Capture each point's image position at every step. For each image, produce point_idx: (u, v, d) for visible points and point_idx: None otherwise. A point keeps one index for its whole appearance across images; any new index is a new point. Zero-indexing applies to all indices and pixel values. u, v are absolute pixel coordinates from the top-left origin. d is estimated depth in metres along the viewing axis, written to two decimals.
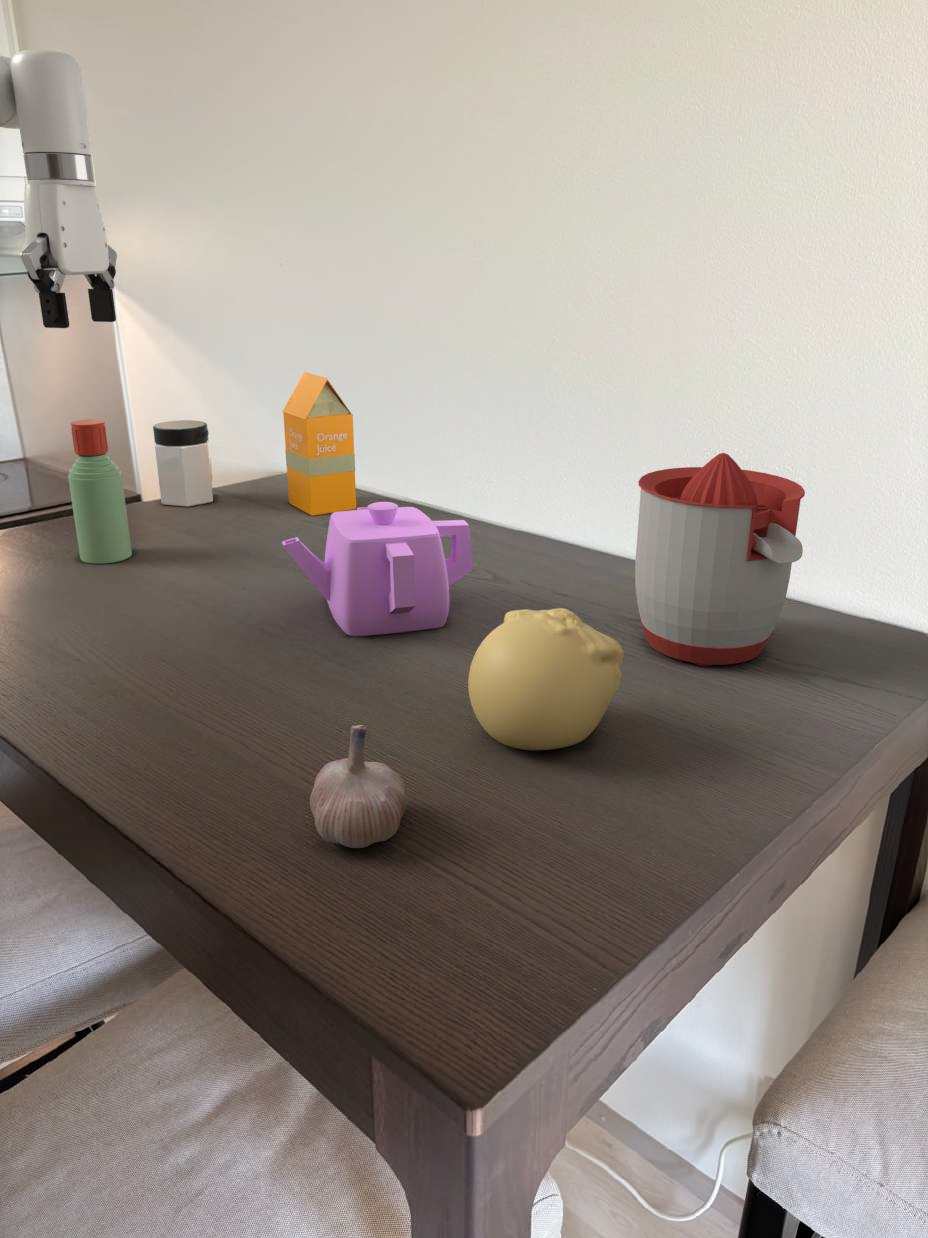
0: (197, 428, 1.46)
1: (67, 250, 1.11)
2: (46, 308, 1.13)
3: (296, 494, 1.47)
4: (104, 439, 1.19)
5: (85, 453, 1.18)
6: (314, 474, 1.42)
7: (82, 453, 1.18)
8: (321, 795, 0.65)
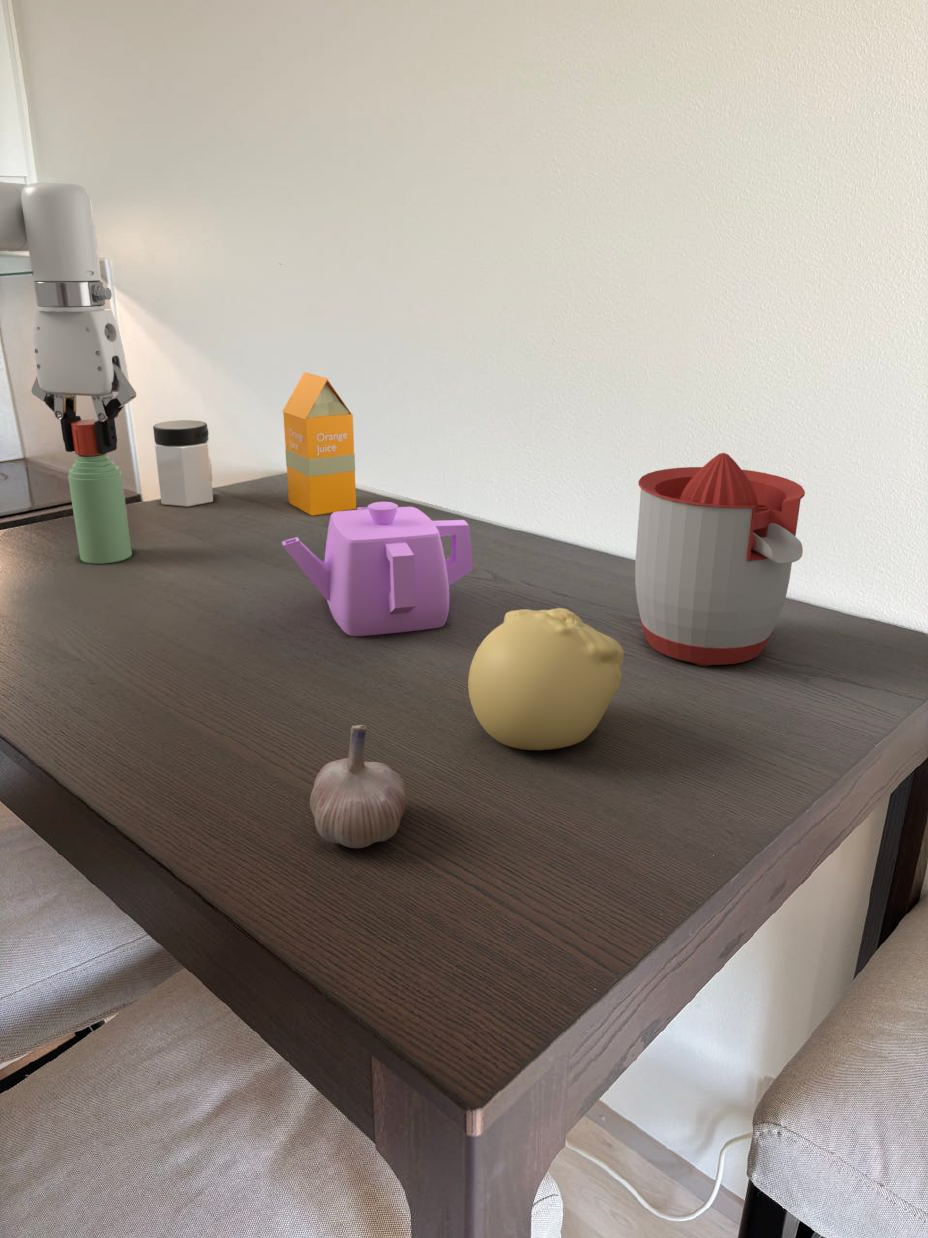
0: (197, 428, 1.46)
1: (41, 371, 1.15)
2: None
3: (296, 494, 1.47)
4: None
5: (85, 453, 1.18)
6: (314, 474, 1.42)
7: (82, 453, 1.18)
8: (321, 795, 0.65)
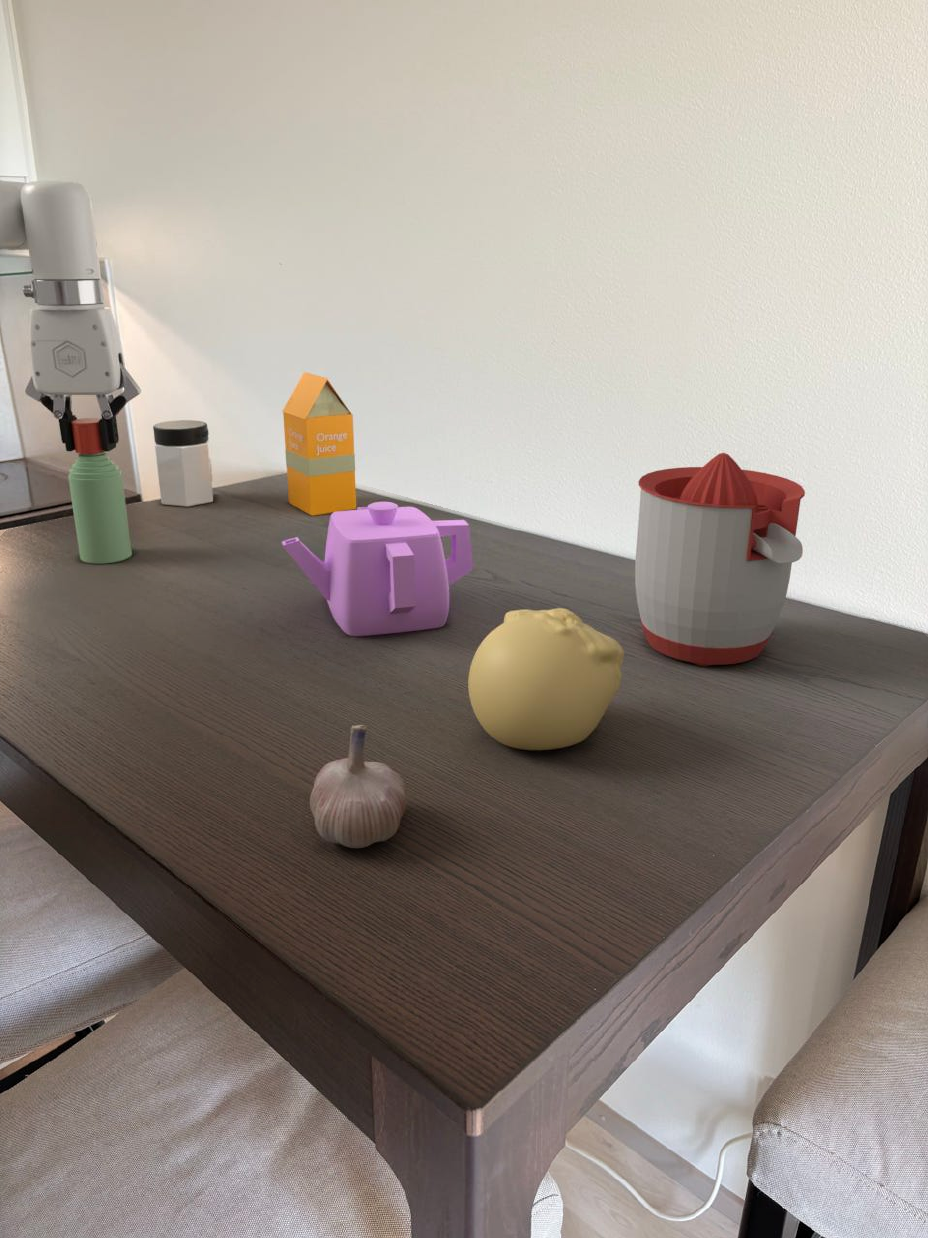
0: (197, 428, 1.46)
1: None
2: (114, 432, 1.19)
3: (296, 494, 1.47)
4: None
5: None
6: (314, 474, 1.42)
7: None
8: (321, 795, 0.65)
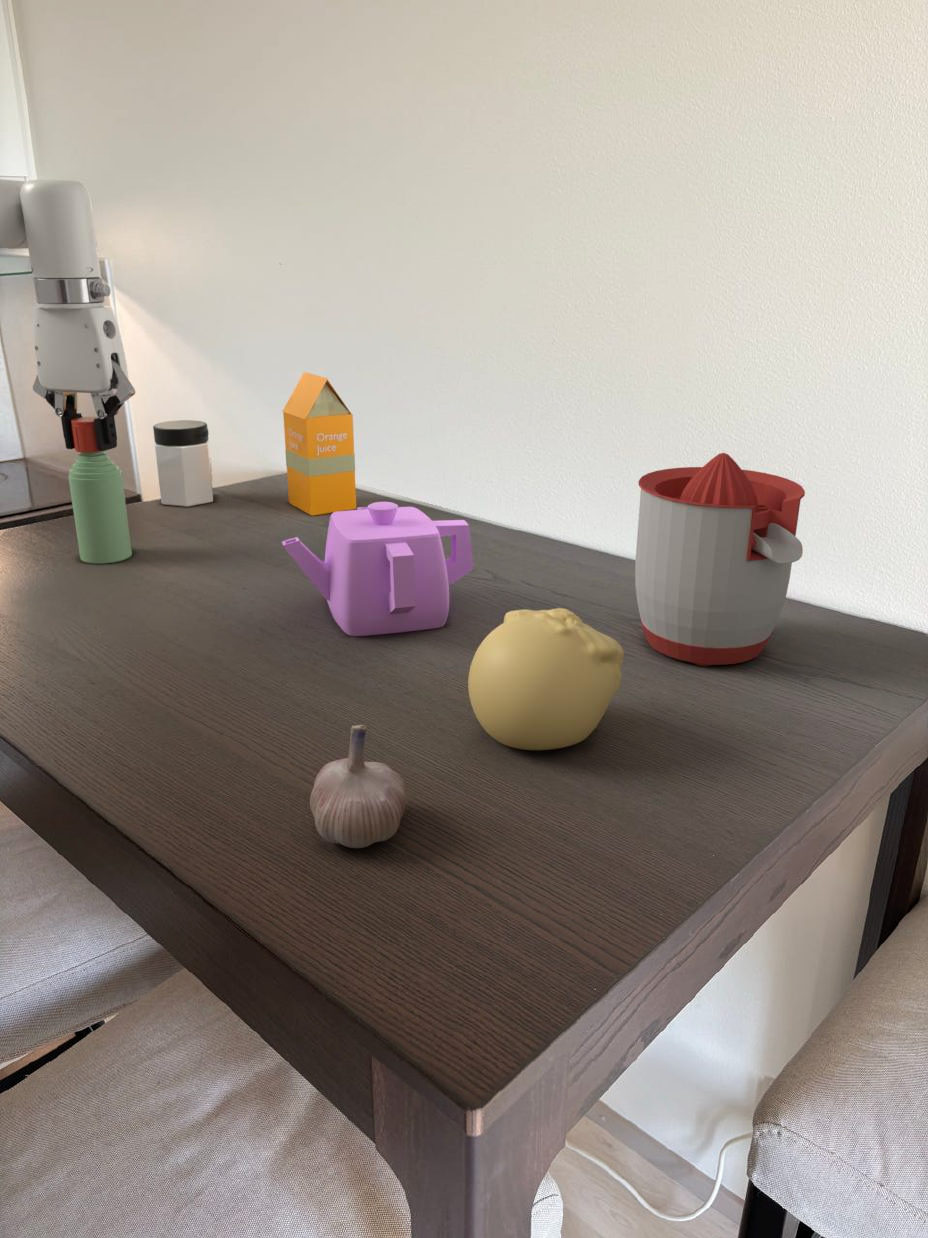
0: (197, 428, 1.46)
1: (41, 368, 1.15)
2: None
3: (296, 494, 1.47)
4: None
5: (84, 450, 1.18)
6: (314, 474, 1.42)
7: (82, 450, 1.18)
8: (321, 795, 0.65)
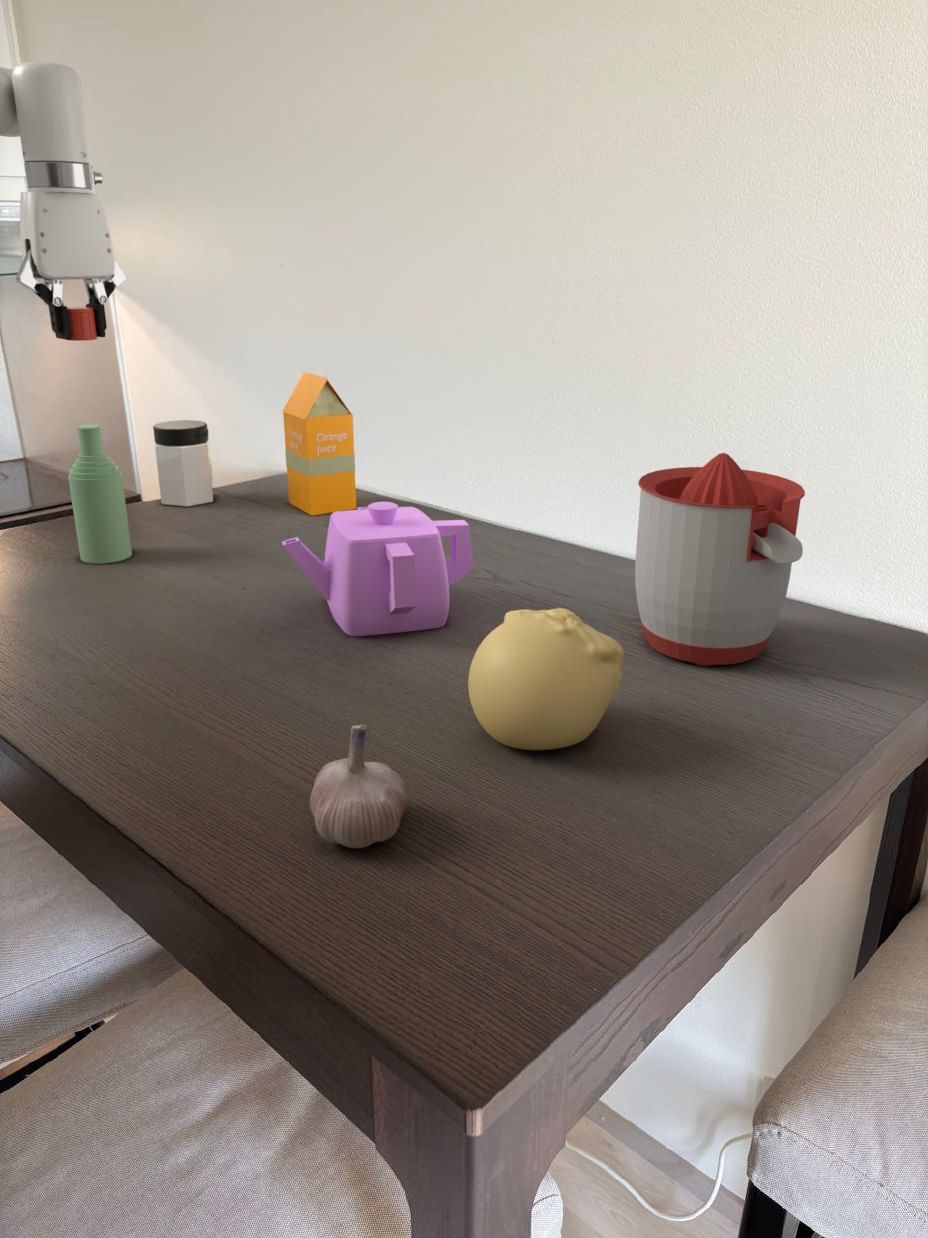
0: (197, 428, 1.46)
1: (47, 255, 1.15)
2: (52, 320, 1.20)
3: (296, 494, 1.47)
4: None
5: (90, 337, 1.21)
6: (314, 474, 1.42)
7: (88, 338, 1.21)
8: (321, 795, 0.65)
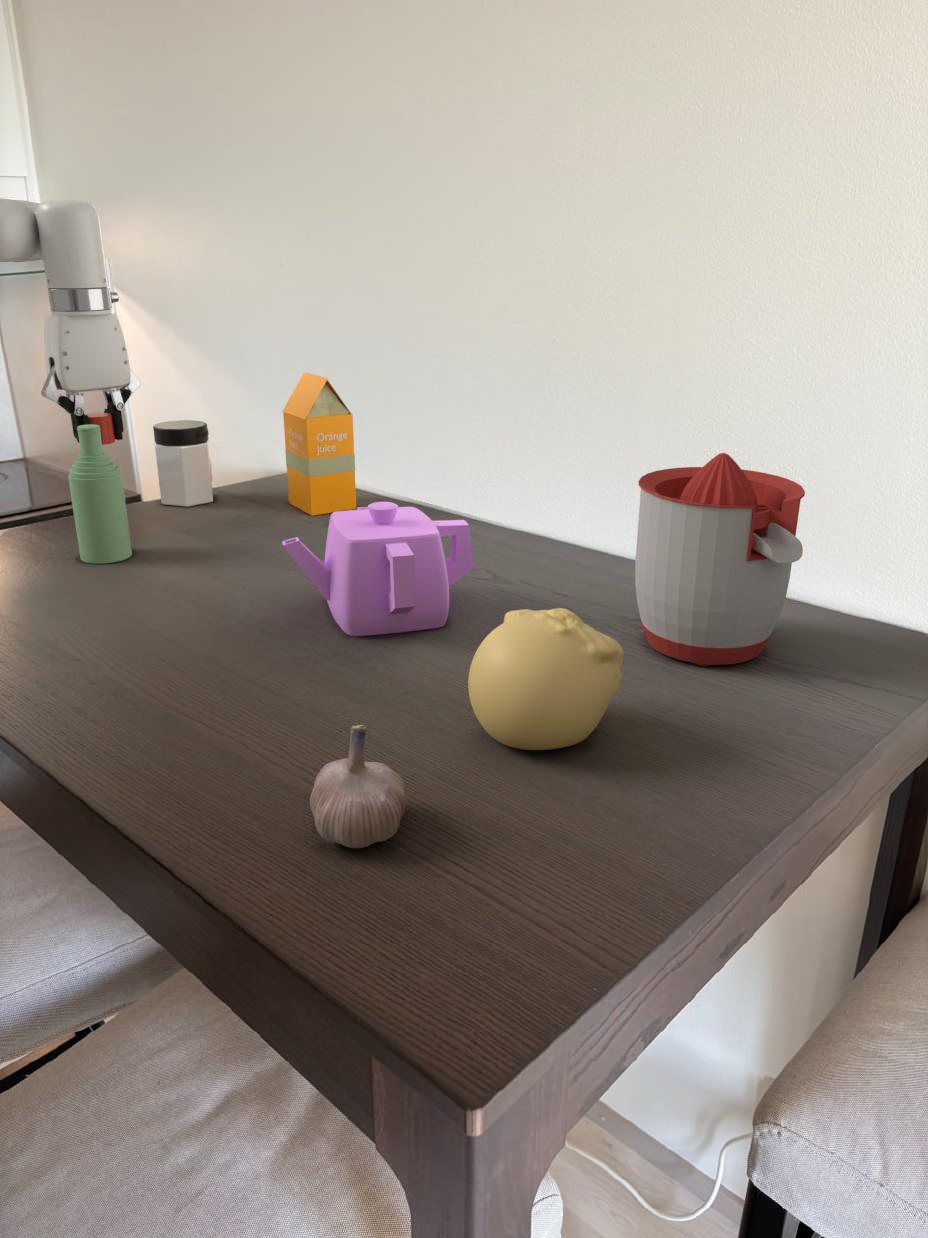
0: (197, 428, 1.46)
1: (69, 372, 1.25)
2: (74, 427, 1.30)
3: (296, 494, 1.47)
4: None
5: (109, 441, 1.32)
6: (314, 474, 1.42)
7: (107, 442, 1.32)
8: (321, 795, 0.65)
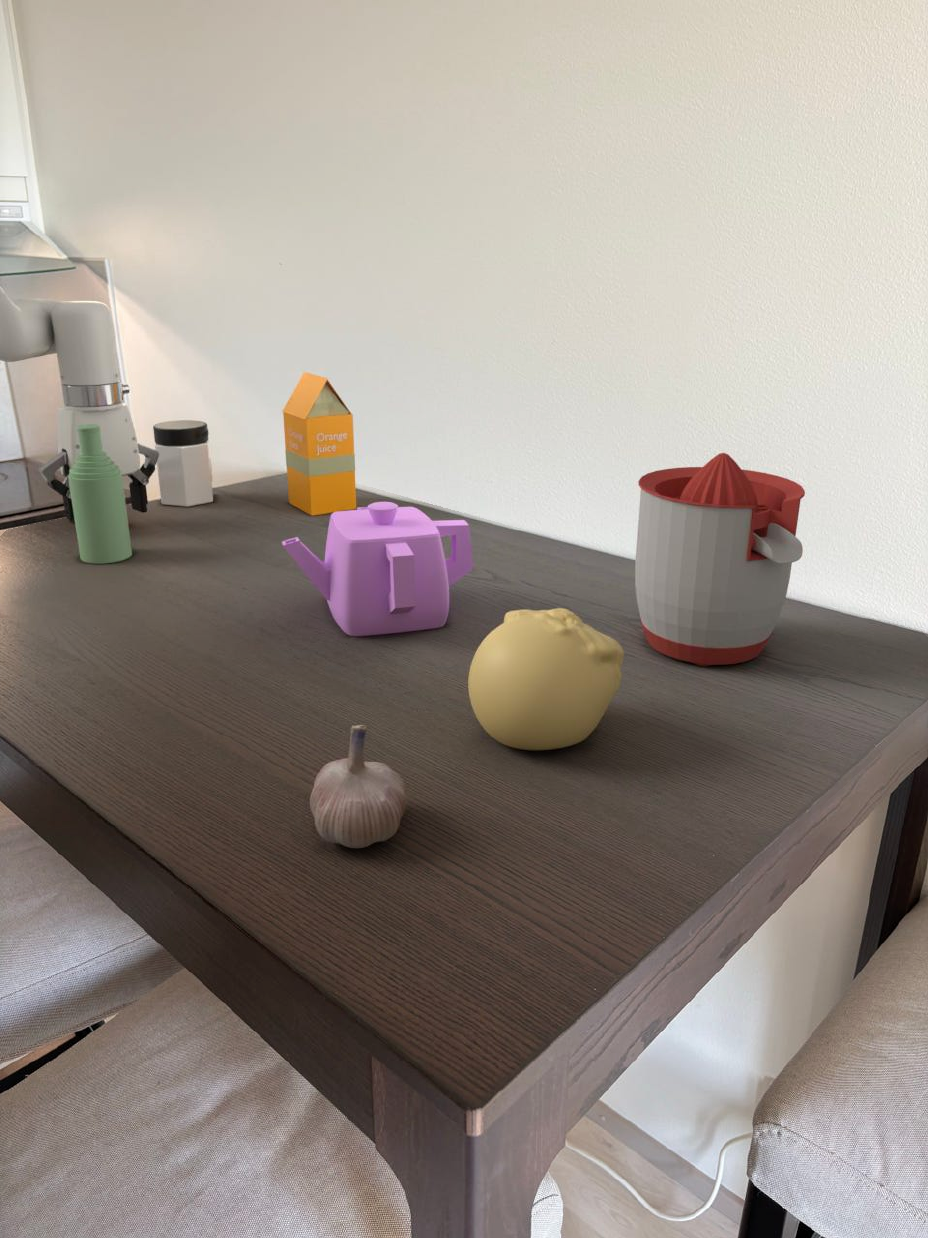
0: (197, 428, 1.46)
1: None
2: (66, 509, 1.32)
3: (296, 494, 1.47)
4: None
5: None
6: (314, 474, 1.42)
7: None
8: (321, 795, 0.65)
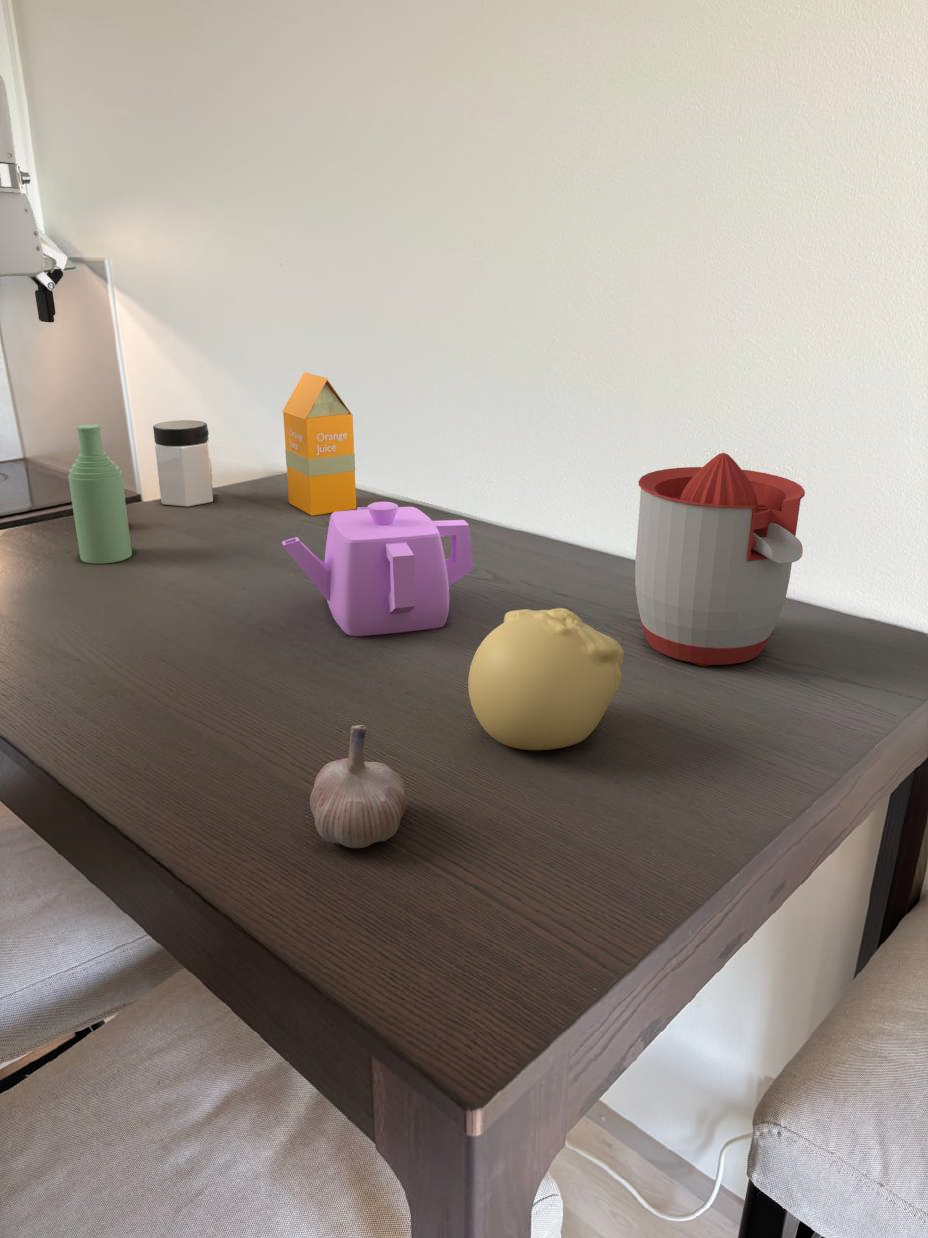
0: (197, 428, 1.46)
1: None
2: None
3: (296, 494, 1.47)
4: None
5: None
6: (314, 474, 1.42)
7: None
8: (321, 795, 0.65)
